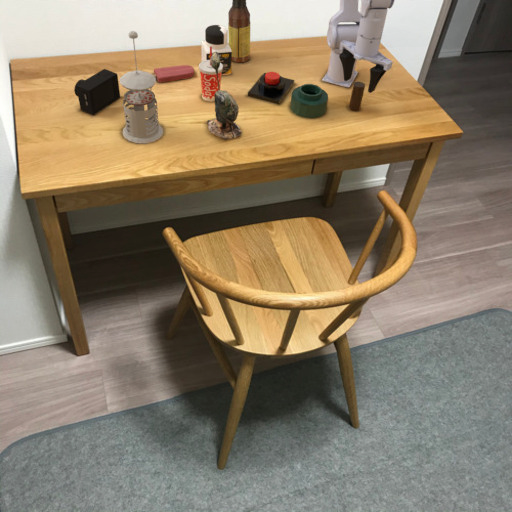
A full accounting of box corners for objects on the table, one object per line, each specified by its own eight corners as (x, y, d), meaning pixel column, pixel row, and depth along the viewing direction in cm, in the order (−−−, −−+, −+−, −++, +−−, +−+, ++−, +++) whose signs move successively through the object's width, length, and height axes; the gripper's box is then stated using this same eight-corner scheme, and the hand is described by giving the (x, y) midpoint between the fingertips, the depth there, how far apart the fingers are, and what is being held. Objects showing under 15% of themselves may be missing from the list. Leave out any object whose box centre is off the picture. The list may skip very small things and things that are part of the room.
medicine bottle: (206, 76, 157) (206, 35, 148) (201, 64, 162) (200, 22, 153) (231, 74, 159) (232, 33, 150) (225, 62, 163) (226, 21, 155)
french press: (117, 140, 134) (102, 39, 116) (131, 114, 142) (119, 15, 124) (157, 145, 134) (149, 44, 116) (169, 119, 142) (163, 20, 124)
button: (267, 76, 154) (268, 70, 153) (281, 79, 153) (282, 73, 152) (262, 82, 151) (262, 76, 150) (276, 86, 150) (276, 80, 149)
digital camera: (104, 91, 149) (100, 66, 144) (120, 97, 147) (117, 73, 142) (76, 108, 142) (71, 83, 137) (93, 115, 141) (88, 90, 136)
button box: (264, 76, 159) (264, 66, 157) (294, 84, 157) (295, 74, 155) (247, 96, 151) (248, 86, 149) (278, 104, 149) (279, 94, 147)
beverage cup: (194, 98, 149) (193, 48, 139) (206, 88, 153) (206, 38, 142) (214, 105, 147) (215, 55, 137) (226, 95, 151) (227, 45, 141)
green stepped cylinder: (297, 95, 153) (299, 77, 149) (330, 104, 151) (333, 85, 147) (285, 112, 147) (287, 93, 143) (319, 122, 145) (322, 103, 141)
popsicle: (138, 70, 154) (191, 63, 158) (138, 75, 155) (191, 68, 160) (142, 80, 151) (196, 72, 155) (143, 85, 152) (196, 77, 156)
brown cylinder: (350, 103, 152) (355, 80, 147) (361, 106, 151) (366, 83, 146) (347, 109, 150) (352, 85, 145) (358, 112, 149) (363, 88, 144)
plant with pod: (211, 147, 135) (212, 69, 120) (205, 120, 142) (204, 44, 128) (245, 144, 136) (249, 67, 122) (236, 118, 144) (239, 43, 129)
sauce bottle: (250, 54, 167) (254, -15, 153) (248, 64, 163) (252, -6, 149) (228, 52, 168) (230, -18, 153) (226, 62, 163) (227, -9, 149)
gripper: (335, 28, 137) (327, 79, 146) (385, 50, 130) (373, 102, 140) (353, 20, 140) (343, 70, 150) (402, 41, 134) (389, 92, 144)
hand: (359, 85), depth 145 cm, fingers open, 7 cm apart
